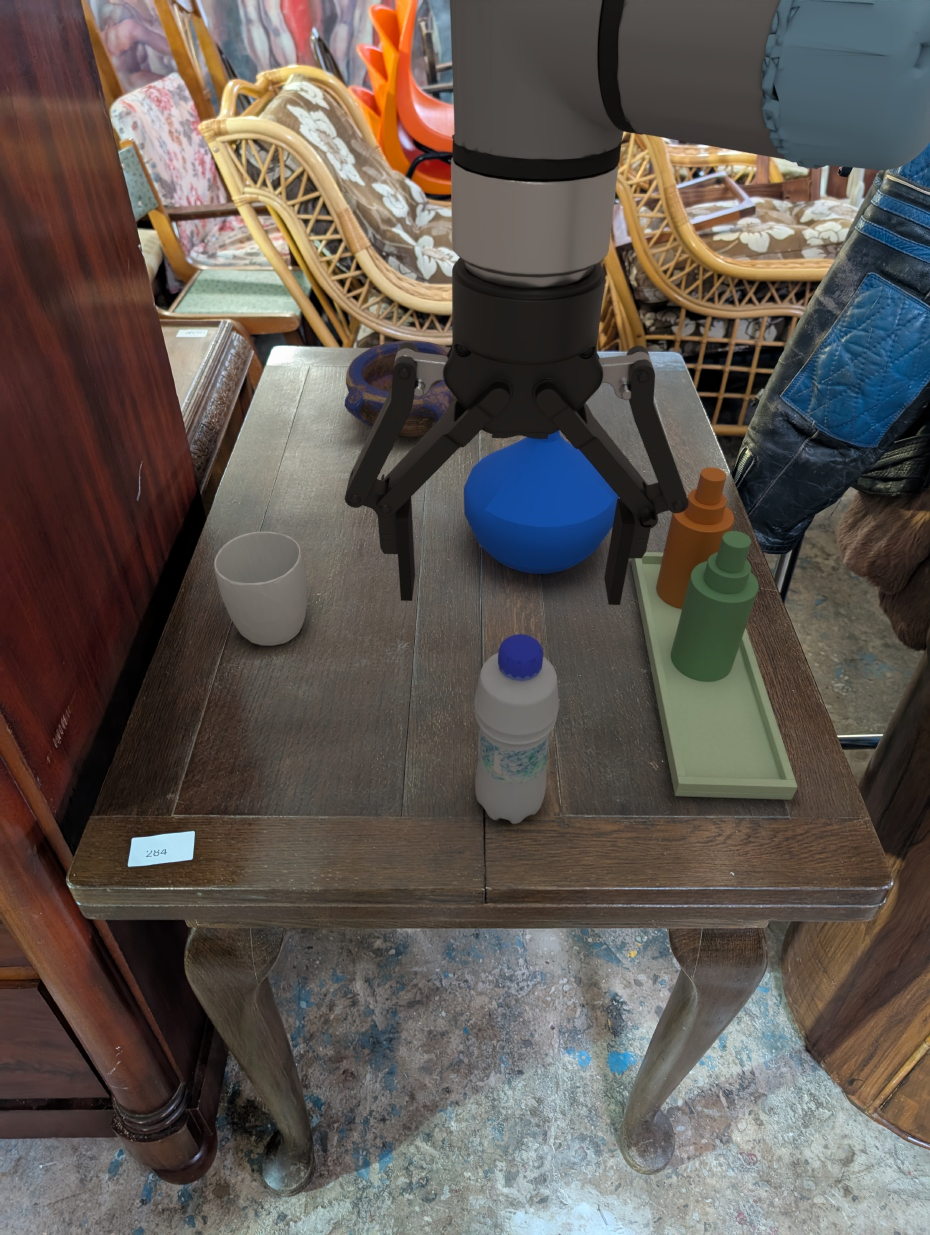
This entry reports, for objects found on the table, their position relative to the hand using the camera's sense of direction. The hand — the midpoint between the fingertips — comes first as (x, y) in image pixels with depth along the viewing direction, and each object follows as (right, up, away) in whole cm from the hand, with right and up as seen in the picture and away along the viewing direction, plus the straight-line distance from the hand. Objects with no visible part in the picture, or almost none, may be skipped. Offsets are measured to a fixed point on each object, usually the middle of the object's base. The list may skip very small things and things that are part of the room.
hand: (509, 589), depth 53 cm
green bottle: (+22, -6, +31) cm, 39 cm away
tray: (+22, -7, +32) cm, 39 cm away
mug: (-25, -2, +37) cm, 45 cm away
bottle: (+1, -19, +19) cm, 27 cm away
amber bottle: (+22, +1, +39) cm, 45 cm away
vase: (+6, +7, +46) cm, 47 cm away
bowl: (-12, +28, +69) cm, 75 cm away
